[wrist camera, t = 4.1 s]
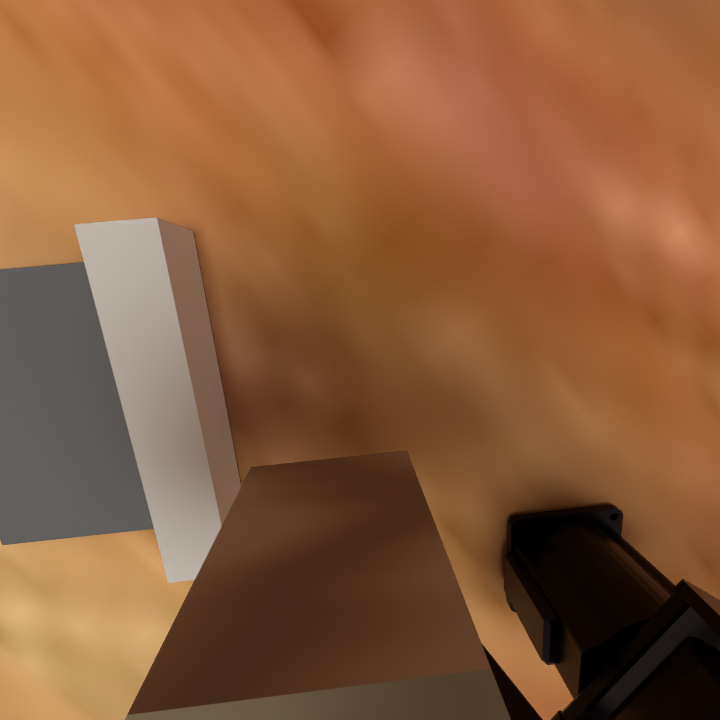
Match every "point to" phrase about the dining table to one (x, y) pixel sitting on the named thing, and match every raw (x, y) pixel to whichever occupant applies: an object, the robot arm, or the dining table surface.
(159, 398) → the rail
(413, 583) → the block
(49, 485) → the mat
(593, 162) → the dining table surface
